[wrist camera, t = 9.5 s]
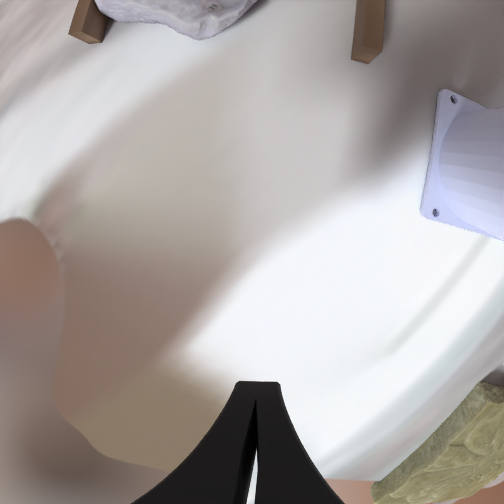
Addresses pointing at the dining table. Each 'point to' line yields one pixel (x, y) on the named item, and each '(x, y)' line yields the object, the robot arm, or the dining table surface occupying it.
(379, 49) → the walnut corral
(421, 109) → the dining table surface
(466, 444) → the decorative tile
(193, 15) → the stone block
